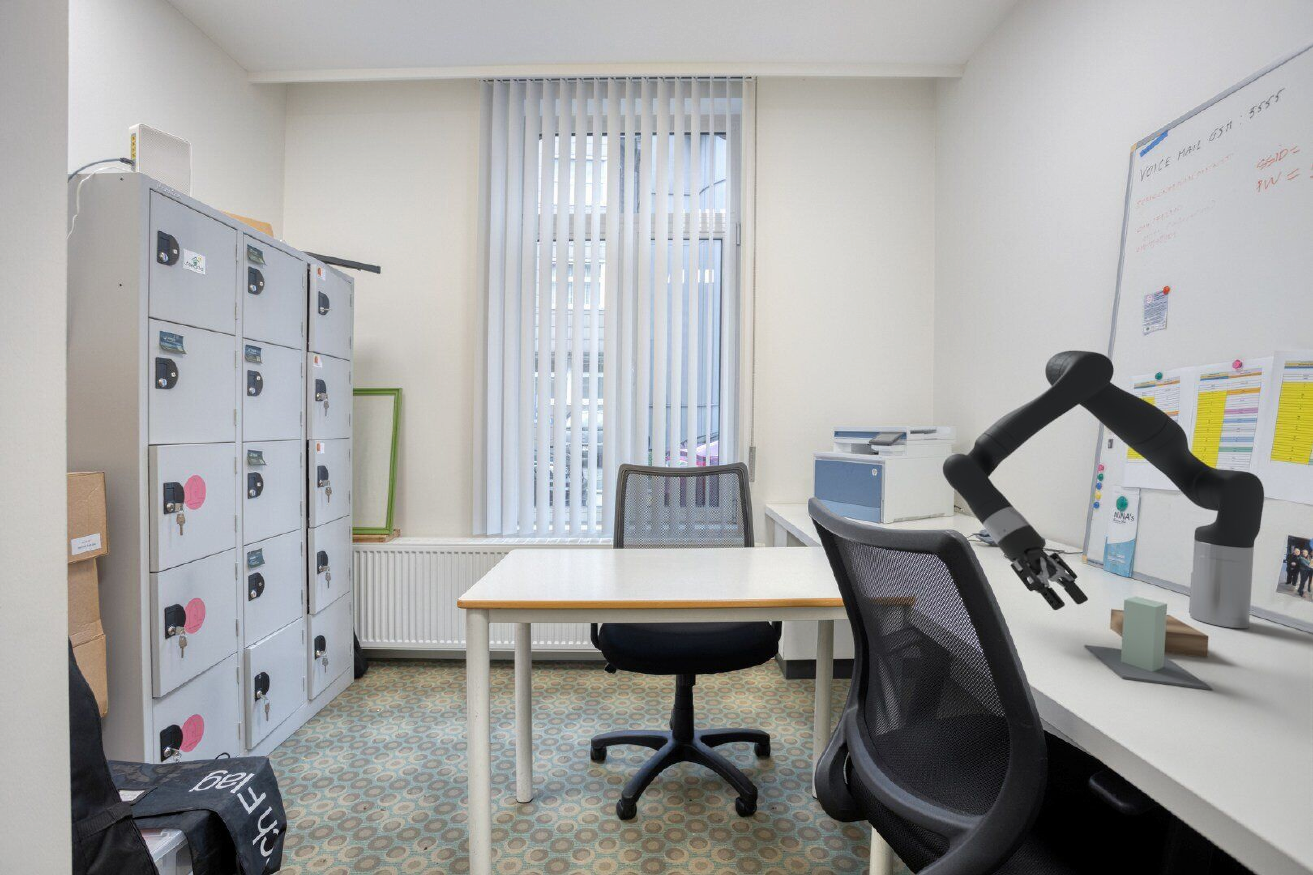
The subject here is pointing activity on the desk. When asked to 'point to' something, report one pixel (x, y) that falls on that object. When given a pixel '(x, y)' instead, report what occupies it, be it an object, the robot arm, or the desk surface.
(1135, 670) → the charcoal mat
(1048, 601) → the robot arm
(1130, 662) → the sage block
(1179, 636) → the walnut block
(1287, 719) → the desk surface
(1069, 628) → the desk surface
